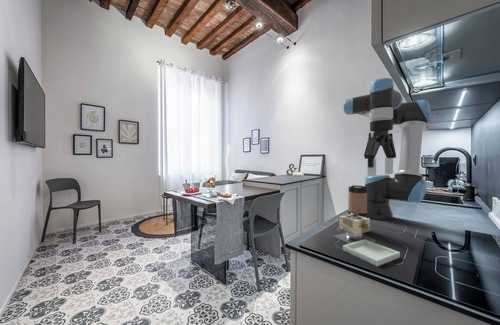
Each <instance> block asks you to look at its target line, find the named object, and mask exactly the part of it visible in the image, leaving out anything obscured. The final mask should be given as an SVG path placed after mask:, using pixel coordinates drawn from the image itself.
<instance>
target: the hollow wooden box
mask: <svg viewBox="0 0 500 325" xmlns="http://www.w3.org/2000/svg"><path fill="white" fill-rule="evenodd" d="M338 222H339V223H338V225H339V226H338V229H340V230H343V231H345V232H346V231H348V232H351V233H354V234H361V233H363V234H364V233H367V232H370V231H371V218H366V217H362V216H358V219H356V220H355V219H352V218H351V215H350V214H343V215H339V217H338Z"/></svg>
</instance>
